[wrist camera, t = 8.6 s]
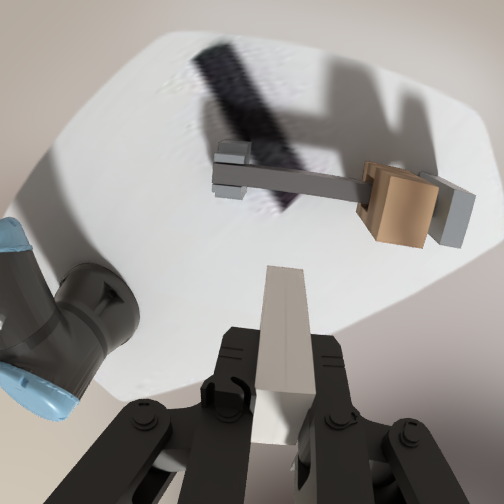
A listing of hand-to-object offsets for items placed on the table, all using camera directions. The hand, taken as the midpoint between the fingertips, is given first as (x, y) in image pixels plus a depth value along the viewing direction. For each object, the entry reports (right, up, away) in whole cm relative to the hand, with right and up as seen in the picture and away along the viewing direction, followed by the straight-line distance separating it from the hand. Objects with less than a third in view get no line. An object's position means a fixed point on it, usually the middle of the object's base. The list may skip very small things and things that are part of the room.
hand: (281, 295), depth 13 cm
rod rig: (+8, +10, +21) cm, 25 cm away
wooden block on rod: (+13, +9, +19) cm, 25 cm away
